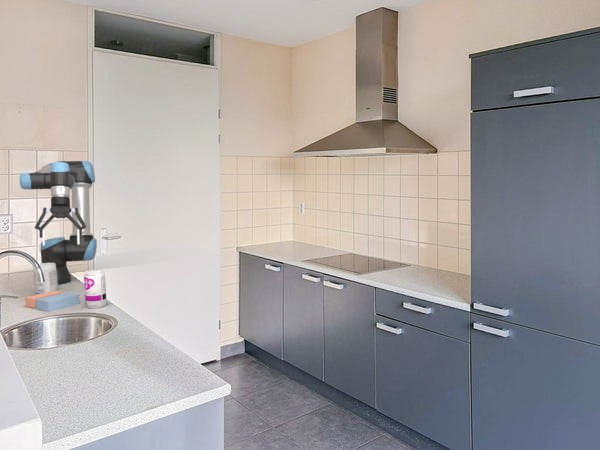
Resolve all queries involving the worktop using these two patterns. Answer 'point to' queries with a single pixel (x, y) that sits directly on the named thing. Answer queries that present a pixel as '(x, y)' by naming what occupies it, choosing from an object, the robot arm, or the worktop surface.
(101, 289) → the supplement can
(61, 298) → the blue rectangular block
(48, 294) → the orange rectangular block
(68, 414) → the worktop surface
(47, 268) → the supplement tub
